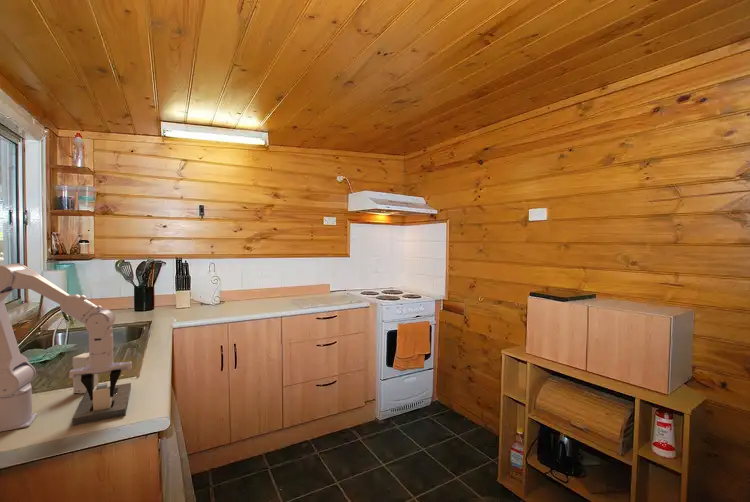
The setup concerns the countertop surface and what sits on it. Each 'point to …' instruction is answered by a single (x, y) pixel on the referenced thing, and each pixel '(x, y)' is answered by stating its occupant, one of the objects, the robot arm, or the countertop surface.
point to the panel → (118, 409)
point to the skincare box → (78, 386)
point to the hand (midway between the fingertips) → (102, 397)
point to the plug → (101, 397)
